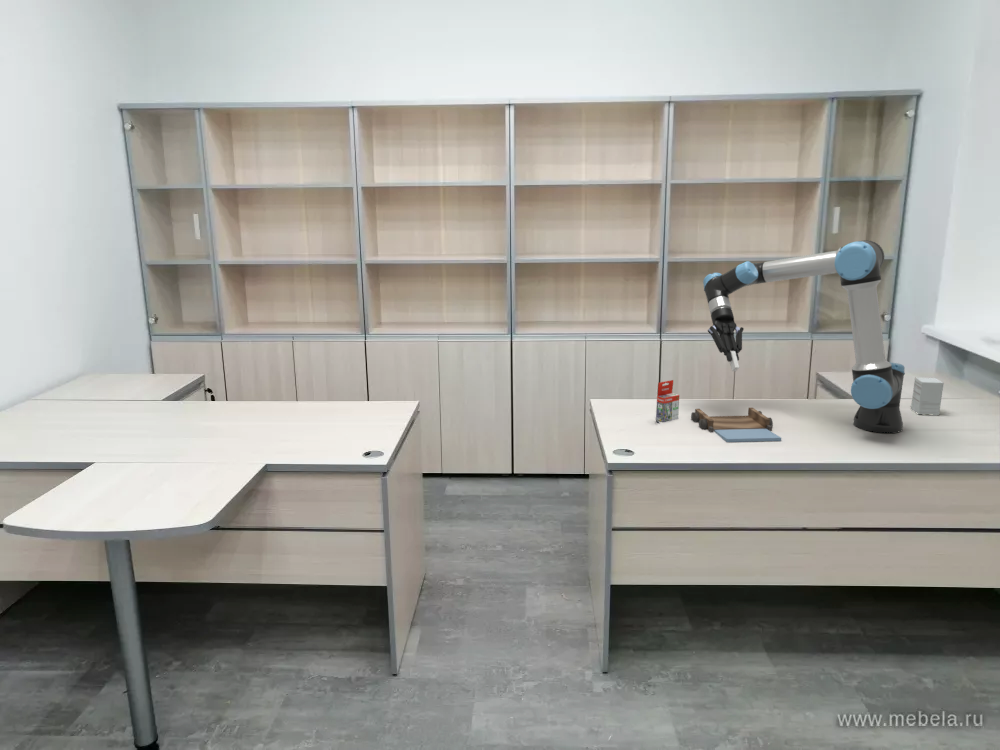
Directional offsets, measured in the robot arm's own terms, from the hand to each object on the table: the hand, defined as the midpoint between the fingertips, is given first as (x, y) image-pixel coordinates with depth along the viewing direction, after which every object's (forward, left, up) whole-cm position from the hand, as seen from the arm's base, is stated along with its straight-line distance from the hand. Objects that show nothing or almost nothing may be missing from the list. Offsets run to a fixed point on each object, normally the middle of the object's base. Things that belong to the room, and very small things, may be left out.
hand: (735, 369), depth 245 cm
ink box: (+13, +17, -20) cm, 30 cm away
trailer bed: (-2, +2, -20) cm, 20 cm away
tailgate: (-8, +5, -19) cm, 21 cm away
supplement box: (-25, -74, -20) cm, 80 cm away
